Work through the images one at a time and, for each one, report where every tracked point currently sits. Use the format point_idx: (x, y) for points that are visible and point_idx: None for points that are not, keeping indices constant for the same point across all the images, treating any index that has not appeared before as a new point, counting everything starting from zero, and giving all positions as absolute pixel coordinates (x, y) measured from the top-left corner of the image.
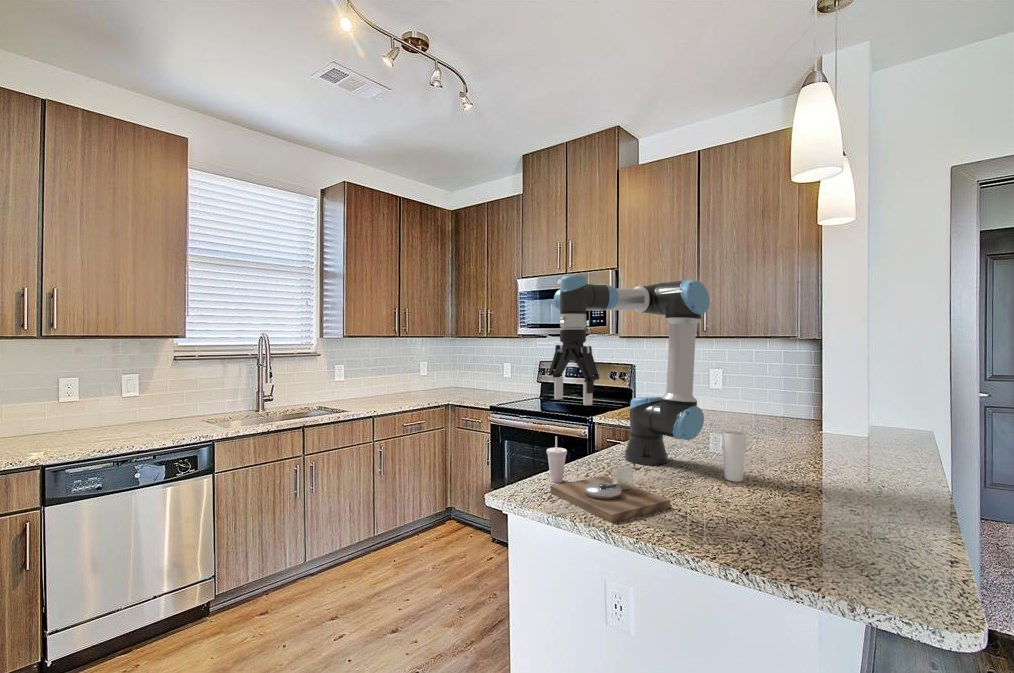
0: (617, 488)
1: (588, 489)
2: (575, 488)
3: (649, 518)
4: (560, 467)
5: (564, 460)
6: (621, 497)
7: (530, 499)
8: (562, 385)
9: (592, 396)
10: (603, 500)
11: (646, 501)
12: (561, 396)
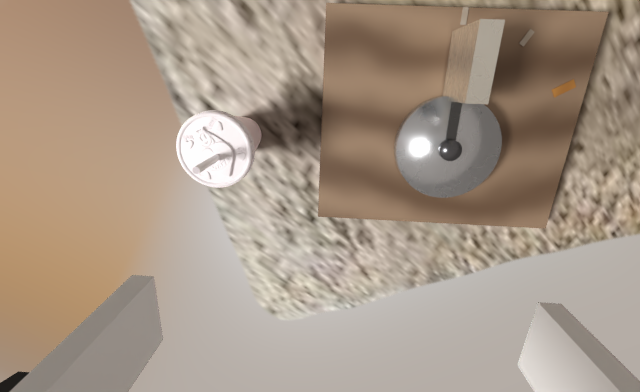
0: (479, 117)
1: (432, 191)
2: (367, 176)
3: (584, 131)
4: (256, 145)
5: (250, 132)
6: None
7: (328, 269)
8: (60, 385)
9: (619, 361)
10: None
11: (563, 90)
12: (144, 302)
